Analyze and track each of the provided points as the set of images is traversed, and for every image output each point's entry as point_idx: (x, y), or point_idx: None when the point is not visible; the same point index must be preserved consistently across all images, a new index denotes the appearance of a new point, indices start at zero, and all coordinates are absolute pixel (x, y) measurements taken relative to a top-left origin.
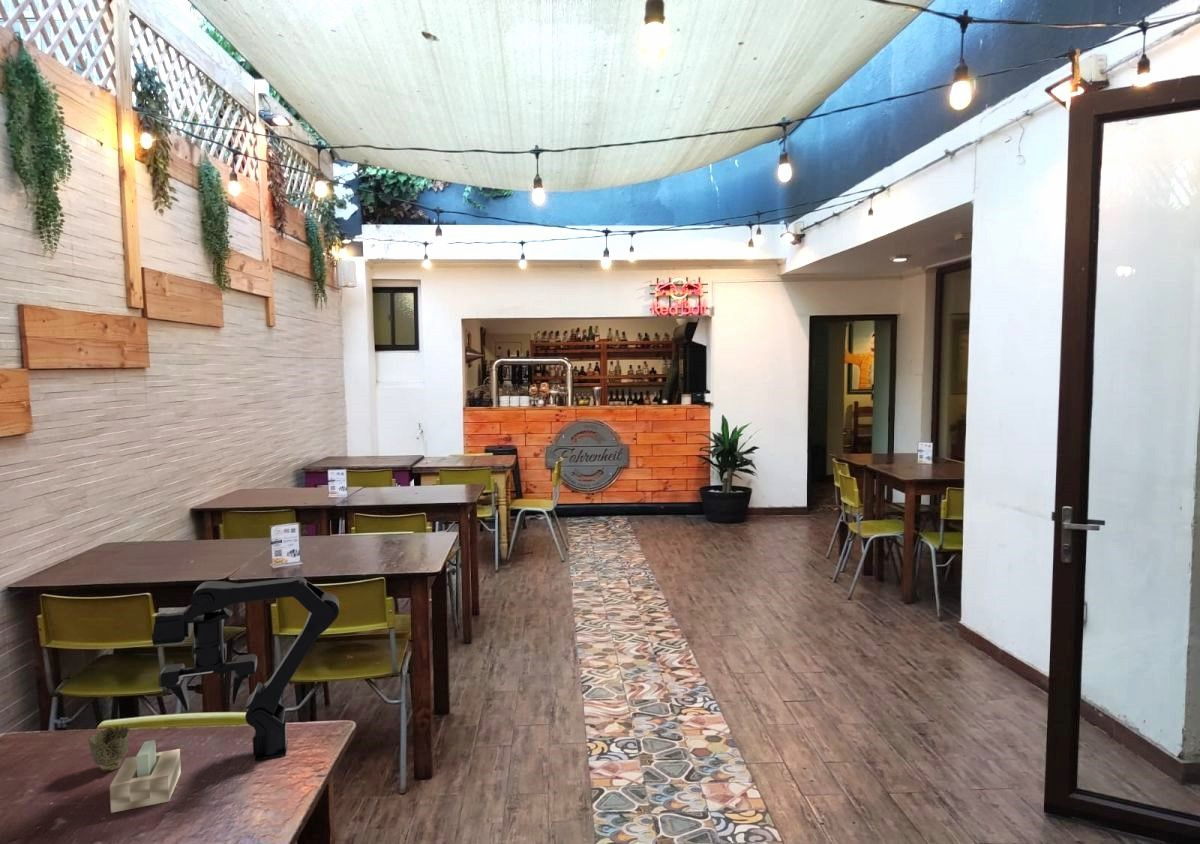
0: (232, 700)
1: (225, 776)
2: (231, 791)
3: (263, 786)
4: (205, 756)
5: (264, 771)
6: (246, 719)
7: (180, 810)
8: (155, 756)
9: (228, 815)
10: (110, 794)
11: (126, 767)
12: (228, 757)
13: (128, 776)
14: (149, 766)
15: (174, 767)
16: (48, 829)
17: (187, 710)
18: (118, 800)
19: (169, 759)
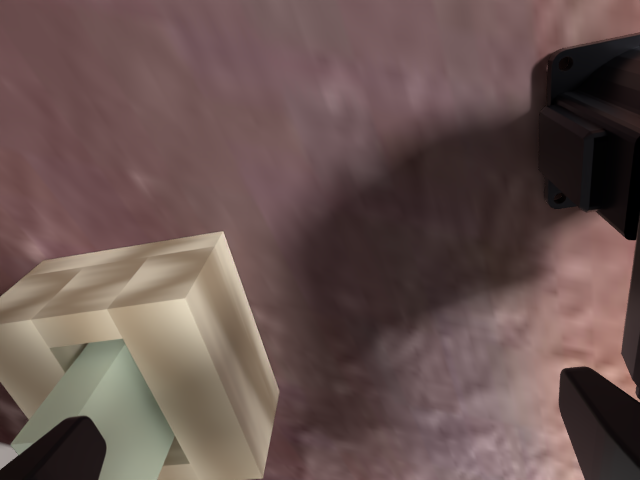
0: (584, 474)
1: (430, 291)
2: (477, 382)
3: None
4: (269, 98)
5: (593, 288)
6: (631, 365)
7: (339, 433)
8: (115, 374)
9: (493, 477)
10: None
11: (37, 399)
12: (398, 133)
13: None
14: (155, 458)
15: (235, 374)
16: (9, 433)
17: (102, 460)
18: None
19: (195, 381)
